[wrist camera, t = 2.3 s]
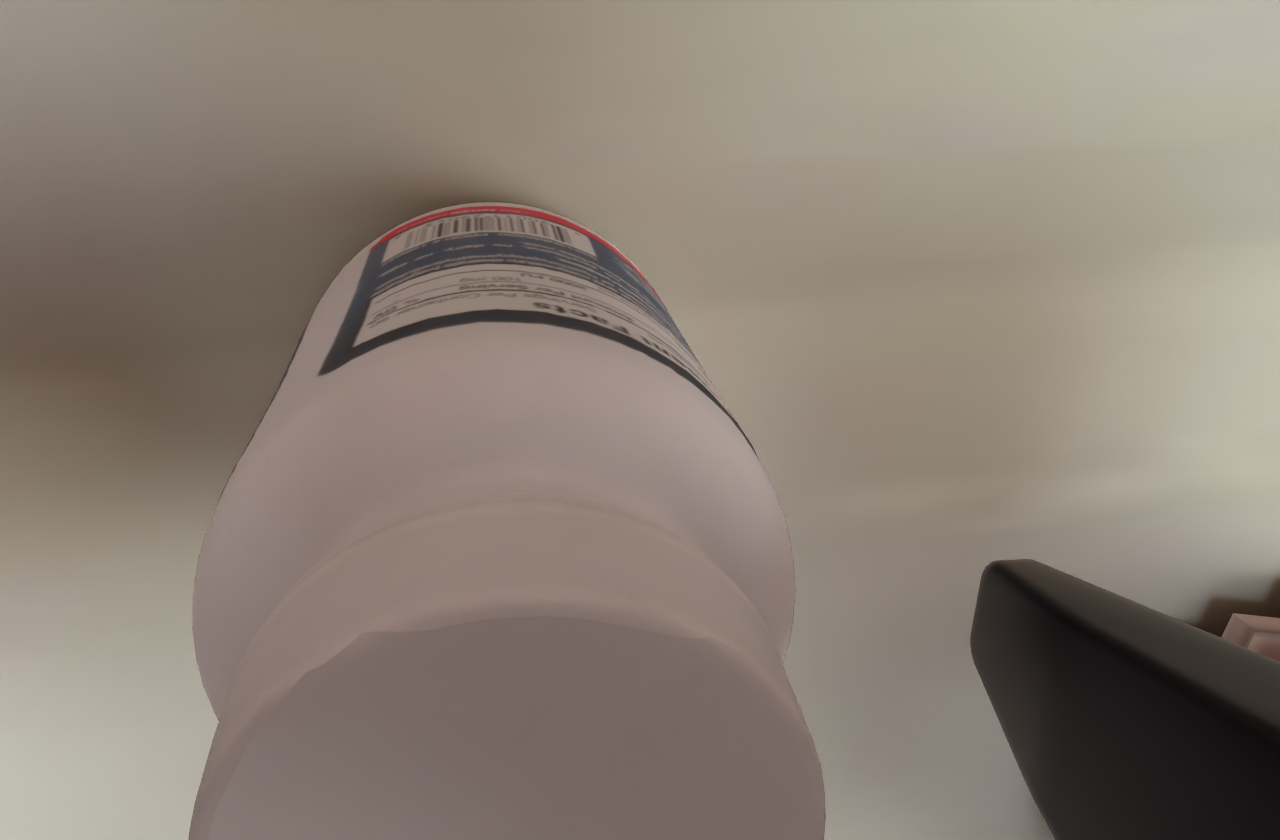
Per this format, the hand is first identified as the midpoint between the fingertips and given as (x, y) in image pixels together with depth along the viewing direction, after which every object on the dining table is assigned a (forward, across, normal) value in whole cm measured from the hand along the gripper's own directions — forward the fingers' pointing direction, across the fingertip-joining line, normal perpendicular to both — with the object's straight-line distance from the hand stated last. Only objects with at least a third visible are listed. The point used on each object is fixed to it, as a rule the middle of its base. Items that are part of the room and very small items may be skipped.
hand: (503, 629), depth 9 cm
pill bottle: (+6, 0, 0) cm, 6 cm away
